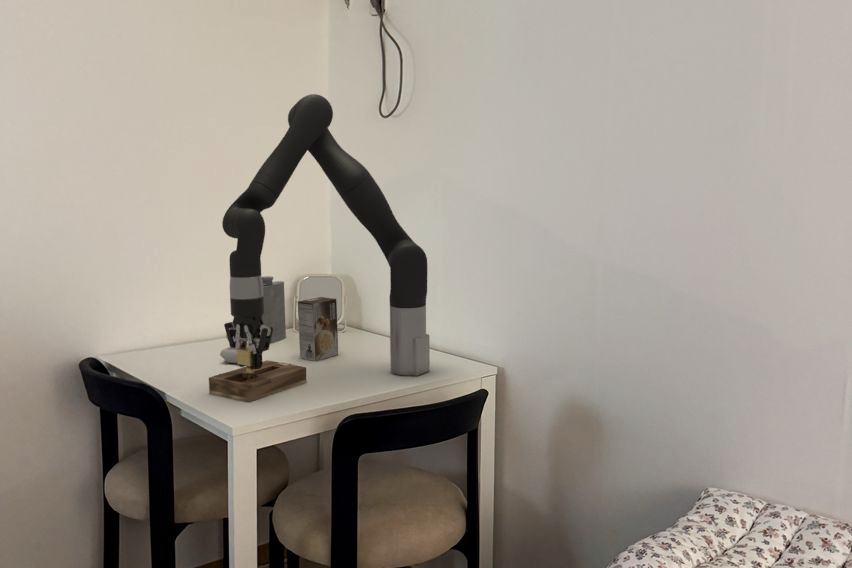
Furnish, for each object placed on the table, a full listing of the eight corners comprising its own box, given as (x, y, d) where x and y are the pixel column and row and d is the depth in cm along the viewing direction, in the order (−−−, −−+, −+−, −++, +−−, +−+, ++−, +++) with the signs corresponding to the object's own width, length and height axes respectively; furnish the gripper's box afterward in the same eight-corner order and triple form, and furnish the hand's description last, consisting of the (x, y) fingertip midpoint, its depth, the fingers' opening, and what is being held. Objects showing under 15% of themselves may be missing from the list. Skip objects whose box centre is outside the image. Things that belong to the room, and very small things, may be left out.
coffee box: (322, 351, 218) (321, 296, 215) (338, 355, 214) (337, 298, 211) (298, 358, 210) (297, 300, 208) (315, 361, 207) (313, 303, 204)
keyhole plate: (306, 382, 186) (306, 366, 186) (249, 402, 171) (248, 384, 170) (267, 374, 193) (267, 359, 193) (209, 393, 178) (208, 376, 177)
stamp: (216, 363, 205) (215, 332, 204) (230, 357, 211) (229, 328, 210) (245, 366, 202) (244, 335, 201) (258, 360, 208) (257, 330, 207)
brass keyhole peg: (264, 385, 180) (262, 347, 179) (251, 389, 176) (249, 351, 175) (251, 382, 182) (249, 345, 181) (237, 386, 179) (235, 349, 177)
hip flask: (279, 336, 238) (277, 272, 235) (290, 337, 237) (288, 273, 234) (246, 347, 224) (243, 279, 221) (257, 348, 223) (254, 280, 220)
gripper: (281, 295, 175) (283, 367, 178) (237, 290, 183) (240, 360, 186) (257, 300, 169) (260, 375, 172) (212, 295, 177) (216, 367, 179)
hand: (250, 367), depth 179 cm, fingers closed on brass keyhole peg, 4 cm apart
